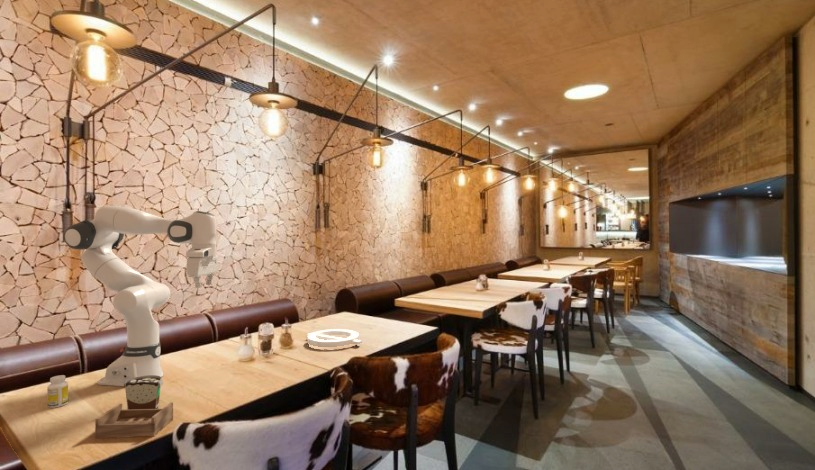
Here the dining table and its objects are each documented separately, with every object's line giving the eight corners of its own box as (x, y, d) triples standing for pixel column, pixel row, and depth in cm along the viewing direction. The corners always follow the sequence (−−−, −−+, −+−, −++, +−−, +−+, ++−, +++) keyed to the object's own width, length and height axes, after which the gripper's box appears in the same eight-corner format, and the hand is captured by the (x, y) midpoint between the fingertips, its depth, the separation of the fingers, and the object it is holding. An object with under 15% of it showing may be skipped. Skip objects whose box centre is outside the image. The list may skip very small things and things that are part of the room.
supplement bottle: (66, 400, 140) (66, 373, 140) (69, 404, 137) (69, 376, 137) (46, 405, 136) (46, 377, 136) (48, 409, 133) (49, 381, 133)
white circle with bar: (306, 339, 225) (306, 331, 225) (354, 335, 234) (354, 327, 234) (308, 353, 199) (309, 343, 199) (363, 348, 207) (363, 339, 207)
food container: (170, 402, 139) (170, 374, 139) (160, 410, 132) (160, 380, 132) (135, 402, 138) (135, 374, 138) (123, 410, 132) (123, 381, 132)
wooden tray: (154, 436, 115) (154, 417, 115) (95, 438, 114) (95, 418, 114) (173, 419, 125) (173, 402, 125) (119, 421, 124) (119, 403, 124)
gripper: (207, 250, 166) (207, 283, 166) (183, 252, 146) (183, 289, 146) (222, 251, 167) (222, 283, 167) (200, 252, 146) (200, 289, 146)
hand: (203, 286), depth 156 cm, fingers open, 8 cm apart
